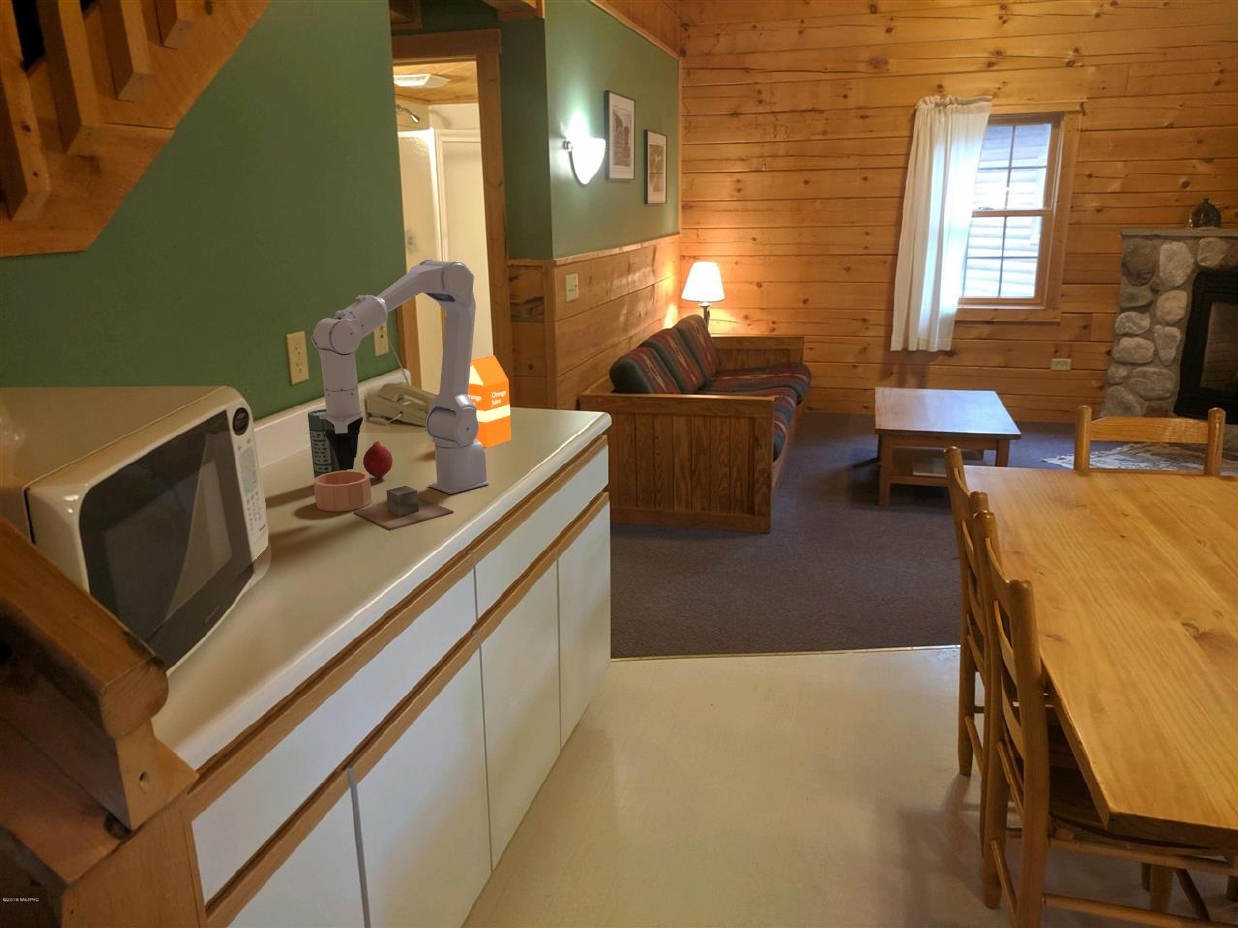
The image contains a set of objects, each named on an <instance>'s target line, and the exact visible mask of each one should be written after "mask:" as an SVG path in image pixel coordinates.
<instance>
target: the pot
mask: <svg viewBox="0 0 1238 928" xmlns="http://www.w3.org/2000/svg"><path fill="white" fill-rule="evenodd" d="M313 489H314V490H313V491H314V500H315V504H316V509H318V510H320V511H322V512H323V511H324V512H330V513H331V512H332V513H339V512H350V511H357V510H361V509H364V508H367V507H368V506H369V505H370V504H371V503H372V501H373V500H372V488H371V475H370V474H369V473H368V472H367V471H362V470H353V469H351V470H347V471H335V472H331V473H326V474H322V475H320V476H318V477H316V478H315V479H313Z"/></svg>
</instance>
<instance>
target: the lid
mask: <svg viewBox="0 0 1238 928" xmlns="http://www.w3.org/2000/svg"><path fill="white" fill-rule="evenodd" d="M385 491H386V501H387V502H386V503H382V504H377V505H374V506H370V507H364V508H360V509H356V510H353V514H355V515H356V516H359V517H361V518H363V519H366V520H367V521H369V522H372V523H374V524H376V525H378V526H380V527H383V528H385V529H386V530H388V531H393V530H396V529H400V528H404V527H407V526H411V525H415V524H418V523H421V522H425V521H429V520H432V519H437V518H442V517H444V516H449V515H451V514H454V510H453V509H449V508H447V507H444V506H442V505H439V504H437V503H434V502H432V501H429V500H427V499H425V498H421V497H420V496H418V494H419V493H418V490H417V489H415V488H413V487H410V486H407V485H403V486H399V487H395V488H390V489H386V490H385Z"/></svg>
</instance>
